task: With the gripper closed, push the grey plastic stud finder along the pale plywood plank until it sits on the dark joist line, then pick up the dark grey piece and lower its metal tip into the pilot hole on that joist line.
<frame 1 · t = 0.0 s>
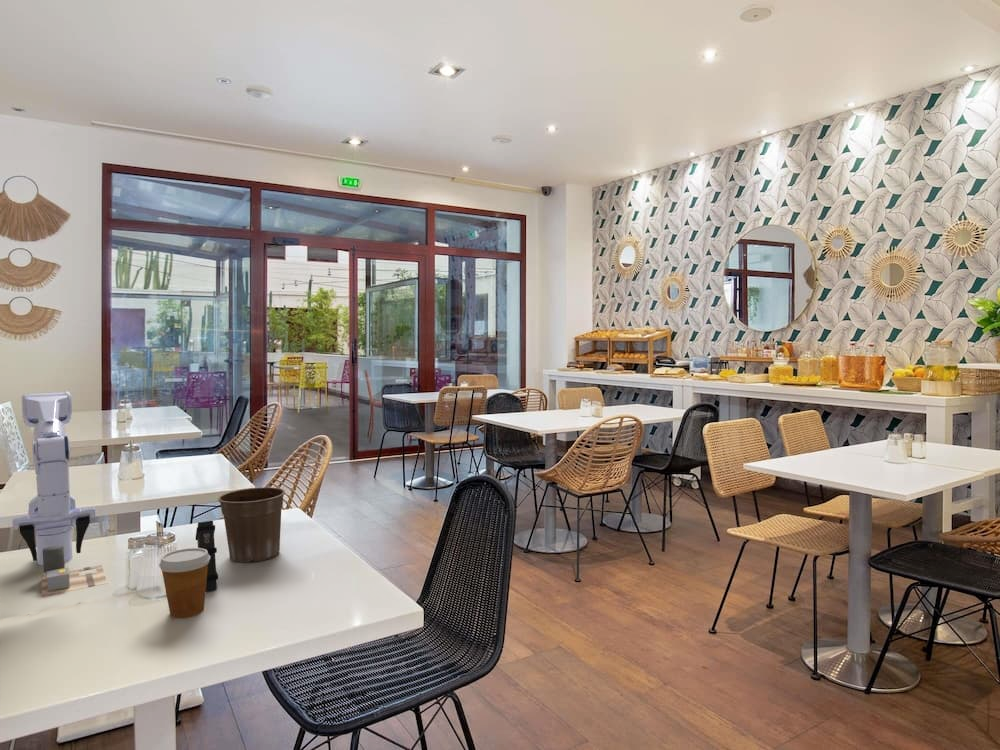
hand: (57, 555, 139), 10 cm above the table, tool pointing down, fingers open, 7 cm apart
black stepped upright piece: (207, 583, 150), on the table
stud finder: (58, 578, 144), point 3 cm above the table, slide at 0.0 cm
plant pot: (254, 556, 168), on the table
dark grey piece: (54, 578, 150), point 1 cm above the table, touching plank
disposable coffee cup: (187, 612, 133), on the table
plank: (74, 586, 149), on the table
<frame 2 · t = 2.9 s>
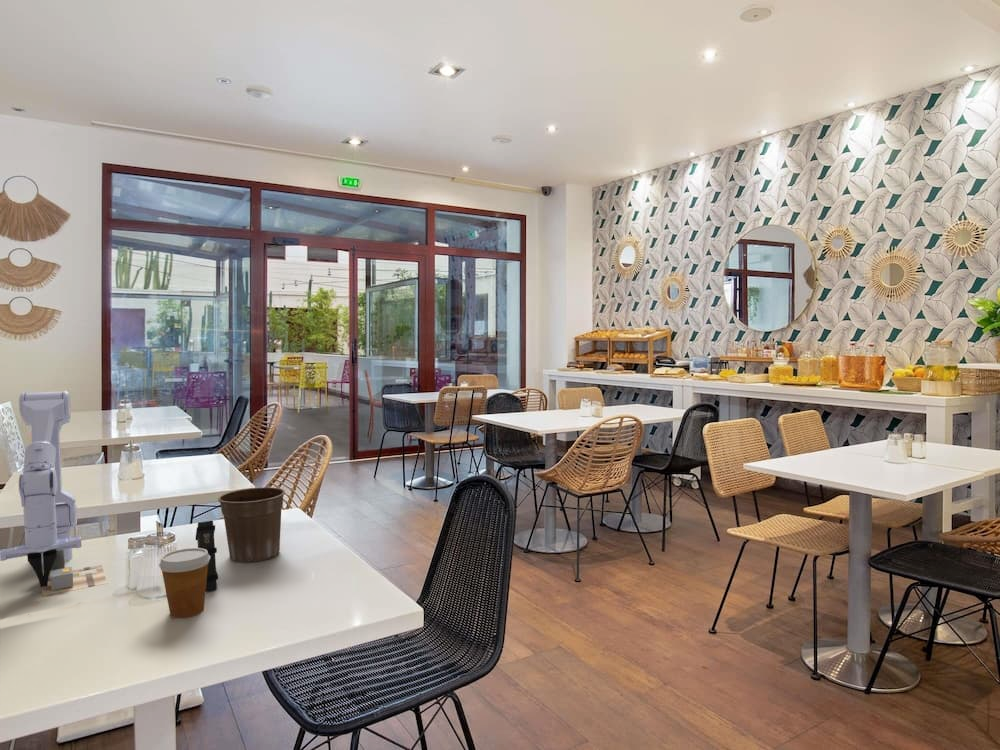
hand: (43, 585, 143), 2 cm above the table, tool pointing down, fingers closed
stud finder: (61, 578, 145), point 3 cm above the table, slide at 0.7 cm, touching gripper
everything else where it was.
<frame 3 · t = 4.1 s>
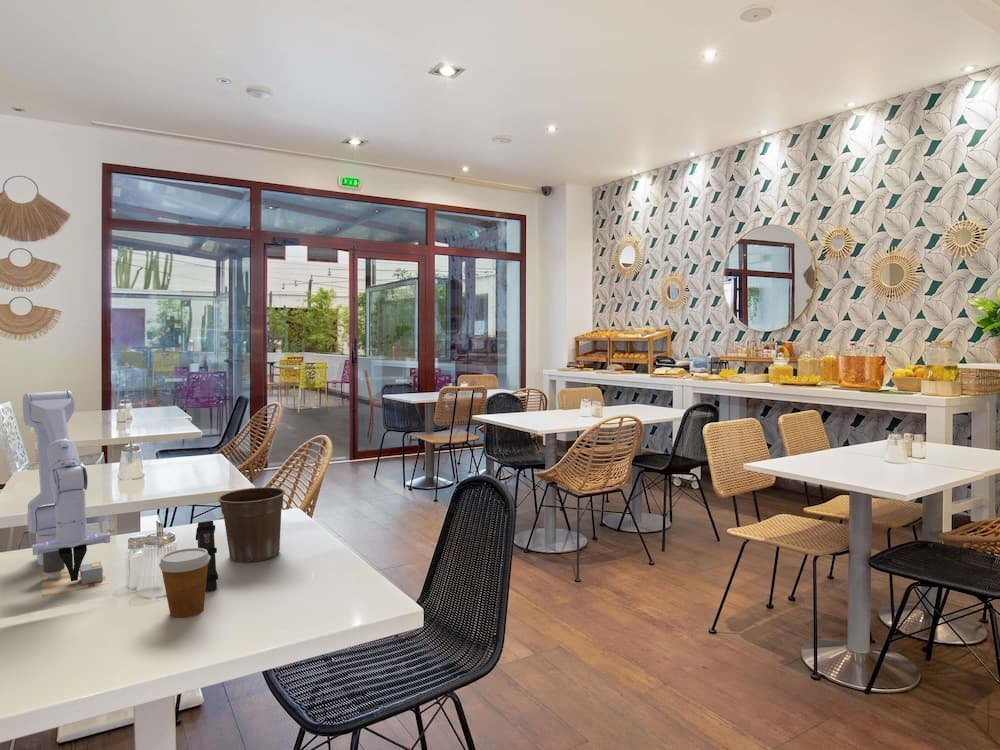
hand: (74, 579, 146), 2 cm above the table, tool pointing down, fingers closed
stud finder: (91, 572, 148), point 3 cm above the table, slide at 6.3 cm, touching gripper
everything else where it was.
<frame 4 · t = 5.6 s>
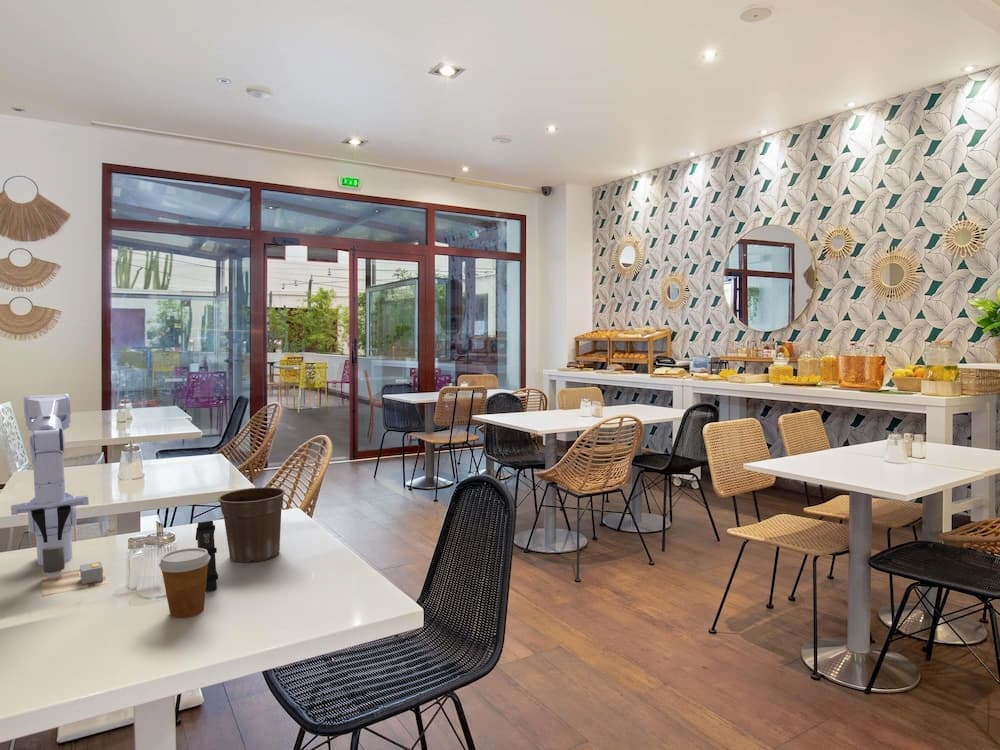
hand: (52, 540, 149), 10 cm above the table, tool pointing down, fingers closed
stud finder: (91, 572, 148), point 3 cm above the table, slide at 6.3 cm
everything else where it was.
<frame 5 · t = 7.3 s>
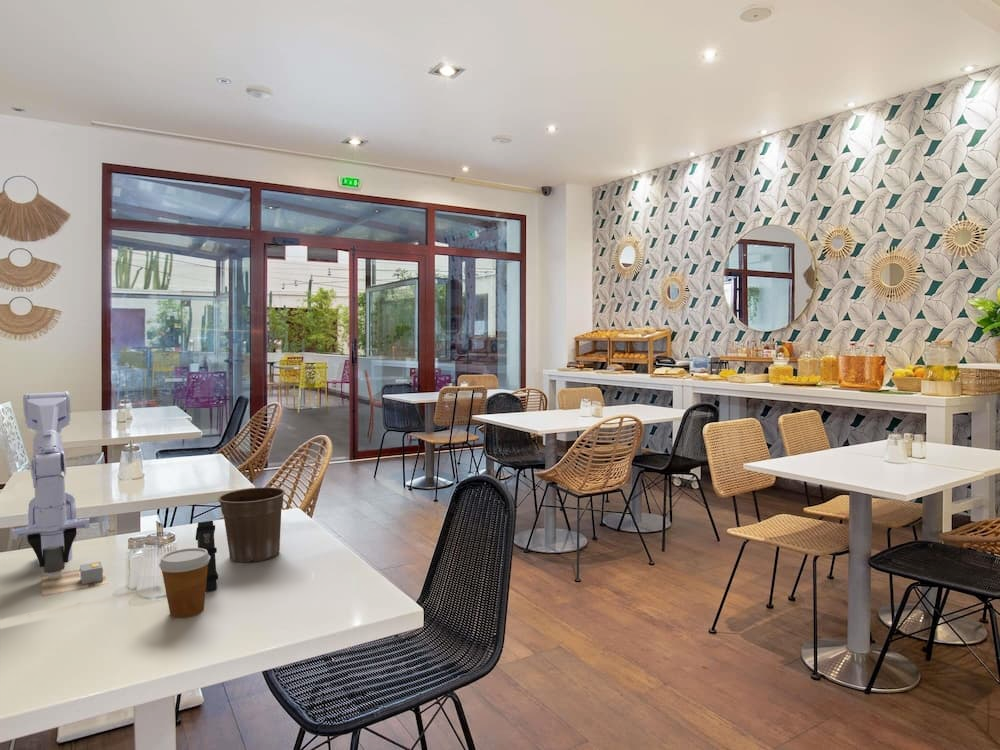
hand: (53, 563, 150), 5 cm above the table, tool pointing down, fingers closed on dark grey piece, 4 cm apart
dark grey piece: (54, 578, 150), point 2 cm above the table, touching gripper, plank
everything else where it was.
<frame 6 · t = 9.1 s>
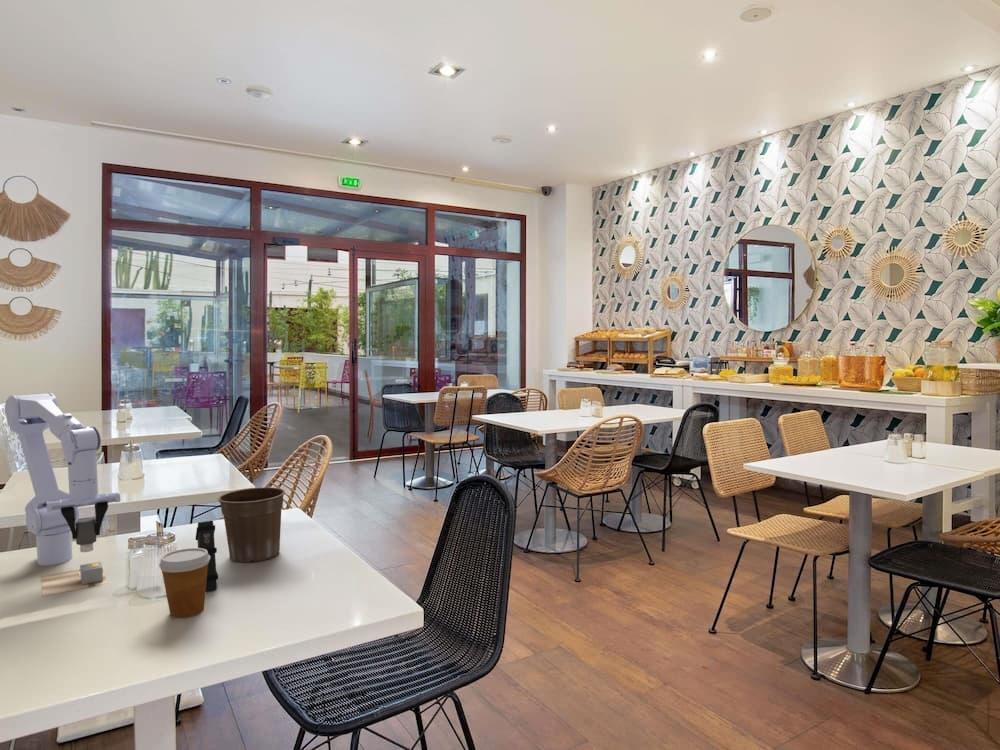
hand: (86, 536, 153), 10 cm above the table, tool pointing down, fingers closed on dark grey piece, 4 cm apart
dark grey piece: (86, 550, 153), point 7 cm above the table, touching gripper
everything else where it was.
when the fingers open (4 cm above the table, at t = 10.8 s): dark grey piece stays where it is, resting in plank.
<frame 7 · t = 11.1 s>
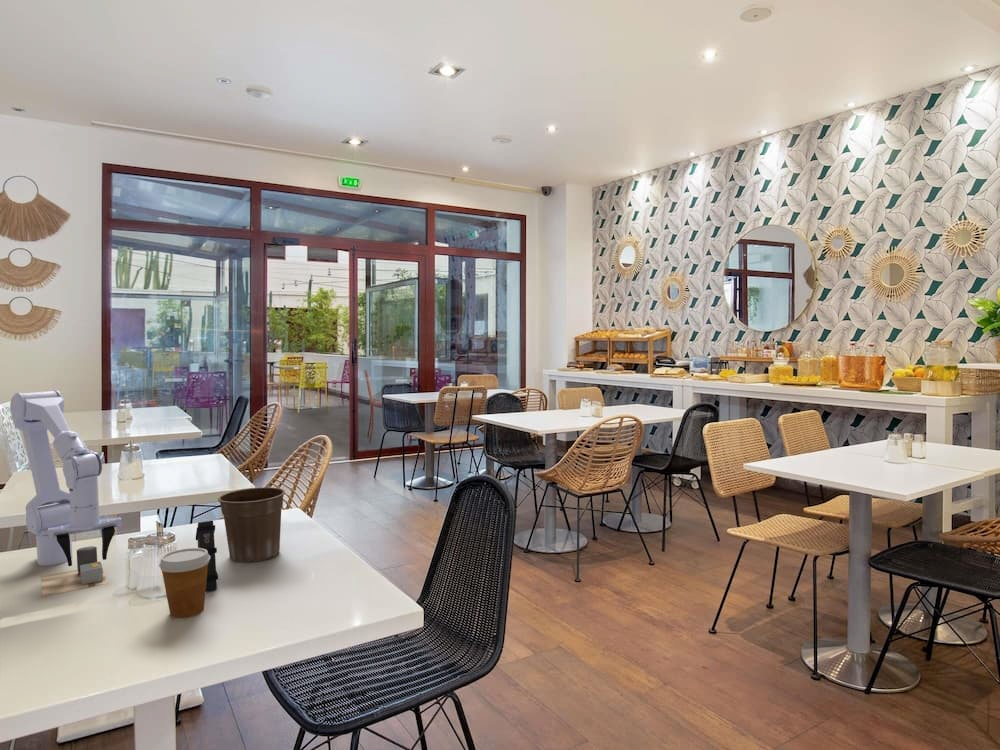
hand: (87, 561, 153), 4 cm above the table, tool pointing down, fingers open, 6 cm apart
dark grey piece: (88, 578, 154), resting in plank
everything else where it was.
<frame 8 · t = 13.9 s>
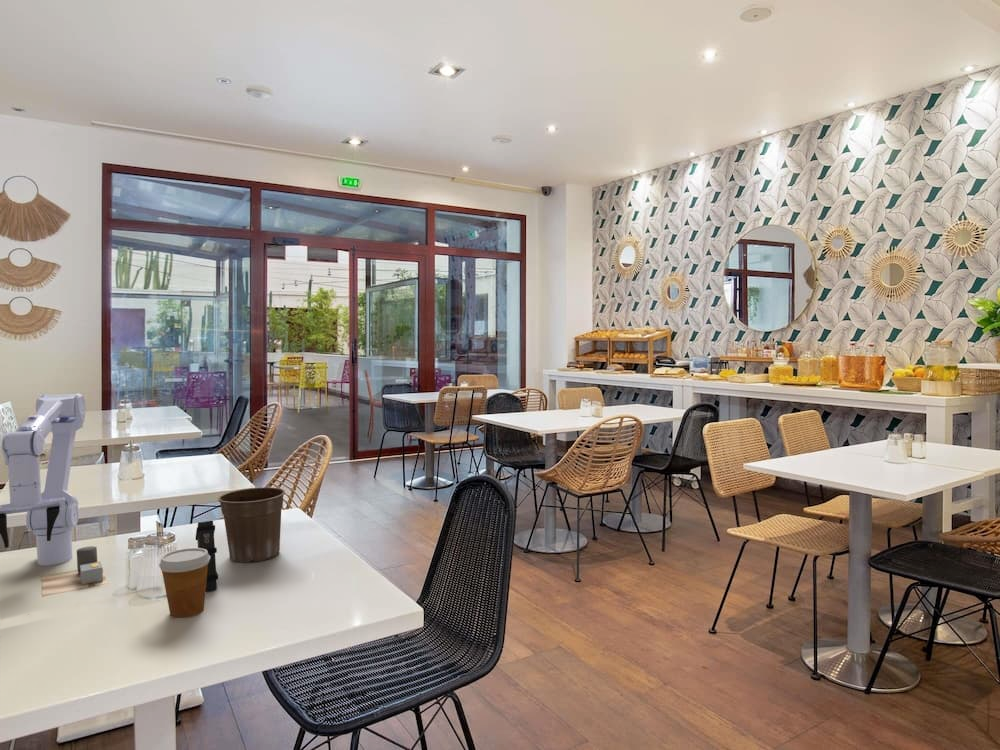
hand: (28, 543, 147), 10 cm above the table, tool pointing down, fingers open, 7 cm apart
nothing on the table moved.
at the end: stud finder slide at 6.3 cm; dark grey piece 0.0 cm from the target spot on the plank, point 0.0 cm above the plank's base; dark grey piece tilted 0° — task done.
